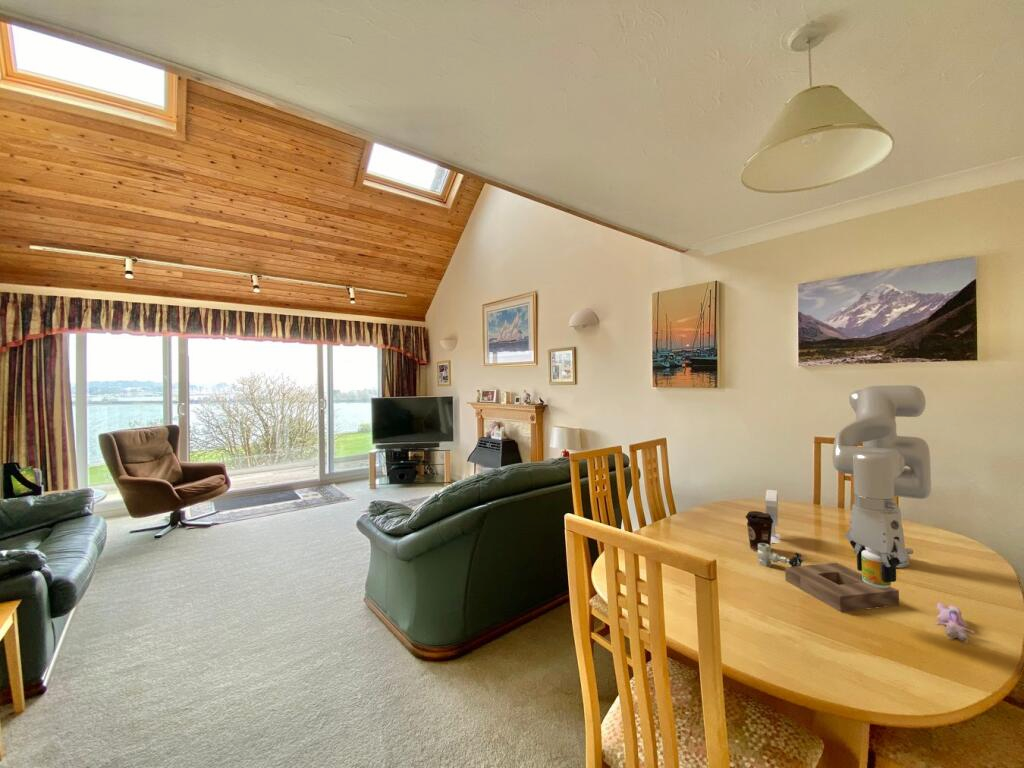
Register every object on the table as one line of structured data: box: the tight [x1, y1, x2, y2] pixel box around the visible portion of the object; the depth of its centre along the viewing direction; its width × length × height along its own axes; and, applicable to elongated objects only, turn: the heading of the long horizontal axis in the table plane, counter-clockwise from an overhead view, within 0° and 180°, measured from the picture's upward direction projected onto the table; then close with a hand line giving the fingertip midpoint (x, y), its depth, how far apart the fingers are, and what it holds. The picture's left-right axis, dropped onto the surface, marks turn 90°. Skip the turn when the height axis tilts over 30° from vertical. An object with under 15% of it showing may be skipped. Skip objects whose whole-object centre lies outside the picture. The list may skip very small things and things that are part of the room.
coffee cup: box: [745, 510, 773, 552], centre depth 150 cm, size 9×8×13 cm
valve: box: [756, 543, 803, 568], centre depth 135 cm, size 7×7×12 cm
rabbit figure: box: [935, 602, 975, 646], centre depth 100 cm, size 6×6×15 cm
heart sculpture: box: [765, 489, 781, 544], centre depth 161 cm, size 16×5×18 cm, turn 146°
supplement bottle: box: [861, 546, 892, 588], centre depth 102 cm, size 5×5×10 cm
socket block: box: [784, 562, 900, 613], centre depth 118 cm, size 18×18×4 cm
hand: (876, 574), depth 102 cm, fingers closed on supplement bottle, 5 cm apart
